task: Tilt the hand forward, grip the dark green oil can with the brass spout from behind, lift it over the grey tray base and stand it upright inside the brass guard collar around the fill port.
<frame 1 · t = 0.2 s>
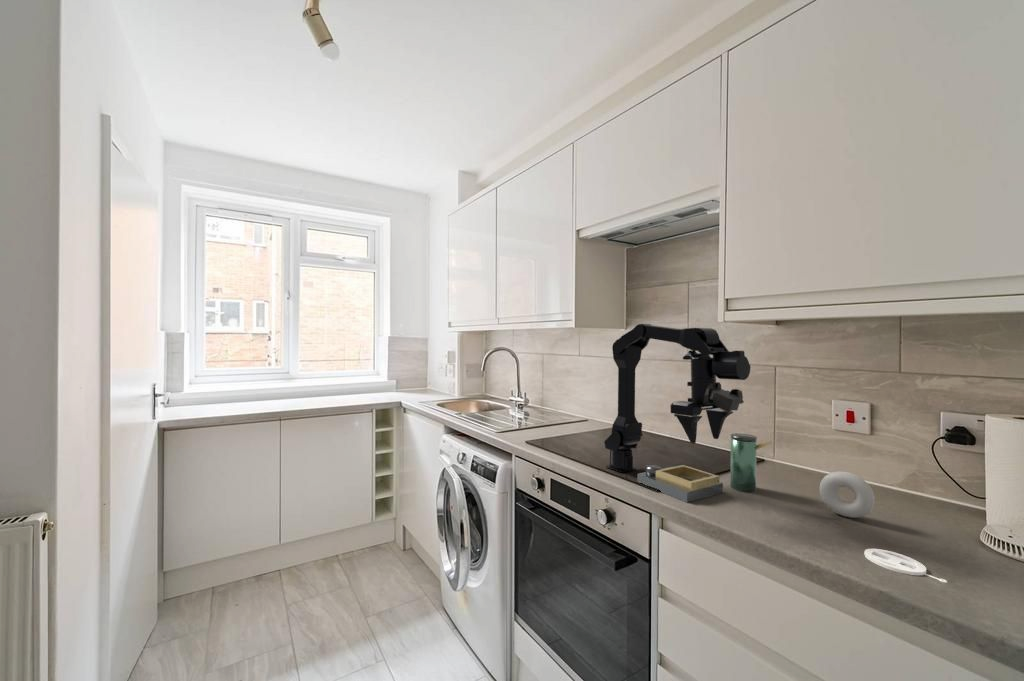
hand: (704, 440, 104), 14 cm above the worktop, tool pointing down, fingers open, 9 cm apart
donut: (845, 517, 94), on the worktop
grey tray base: (678, 487, 112), on the worktop
pendant: (904, 569, 73), on the worktop
spout can: (743, 488, 112), on the worktop
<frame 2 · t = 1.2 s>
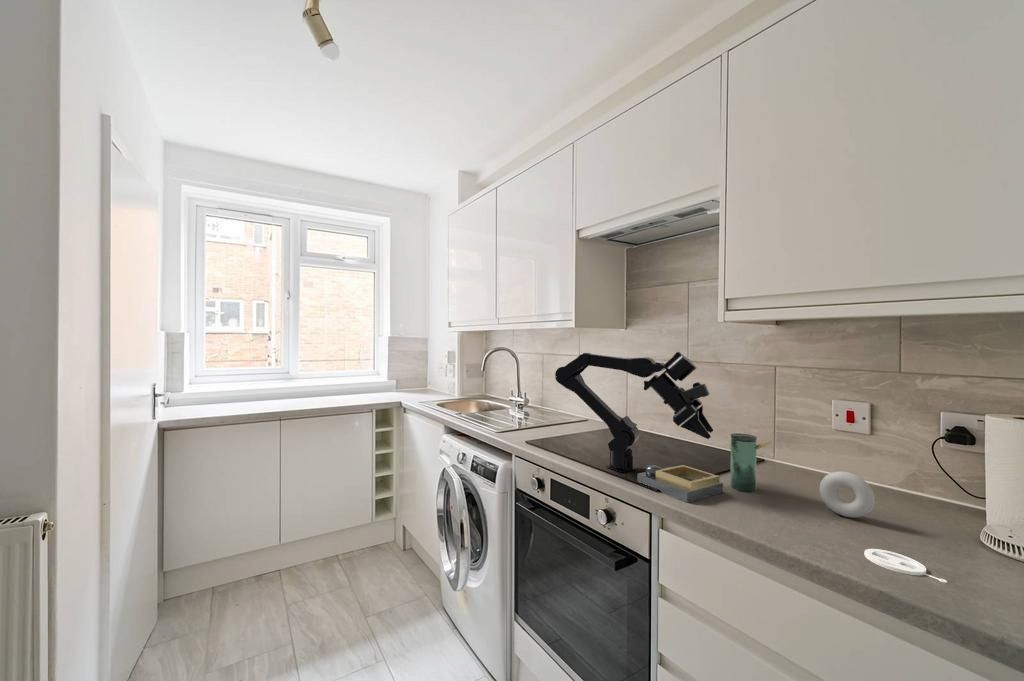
hand: (710, 434, 116), 13 cm above the worktop, tool tilted 45°, fingers open, 9 cm apart
nothing on the worktop moved.
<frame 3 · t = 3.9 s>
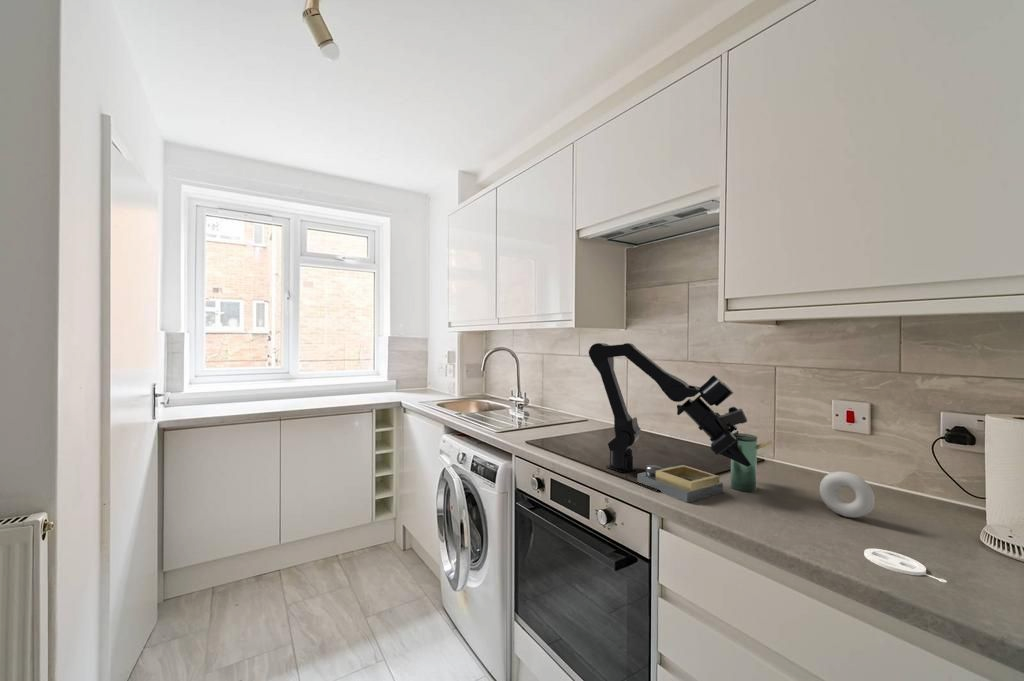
hand: (749, 462, 111), 7 cm above the worktop, tool tilted 45°, fingers closed on spout can, 6 cm apart
spout can: (743, 487, 112), on the worktop, touching gripper
everything else where it was.
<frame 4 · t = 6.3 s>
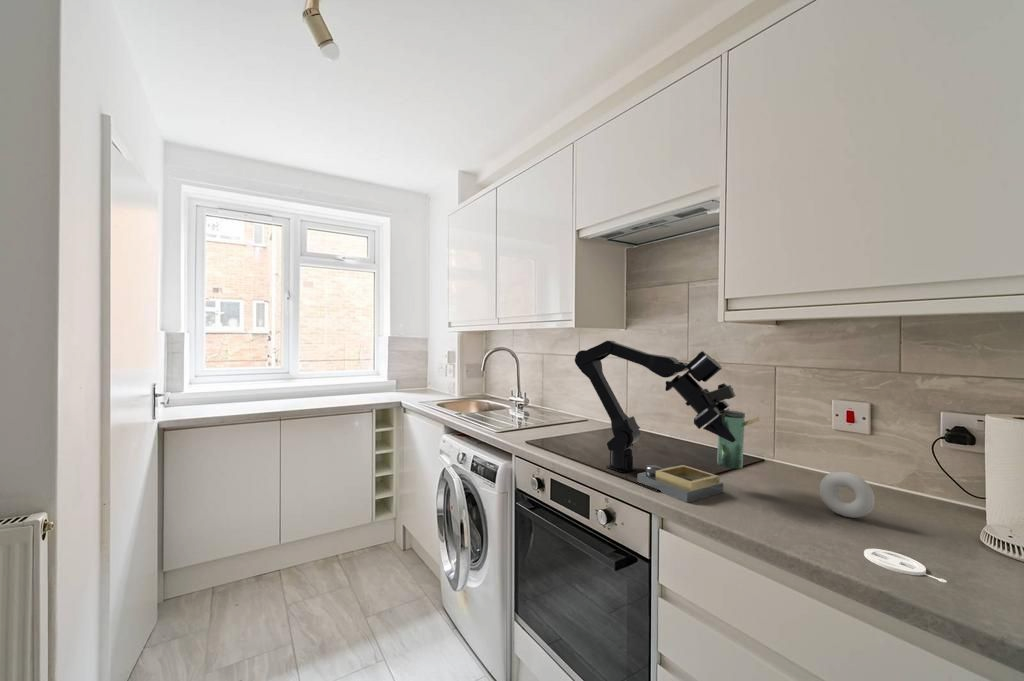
hand: (736, 439, 110), 14 cm above the worktop, tool tilted 45°, fingers closed on spout can, 6 cm apart
spout can: (729, 464, 111), point 7 cm above the worktop, touching gripper
everything else where it was.
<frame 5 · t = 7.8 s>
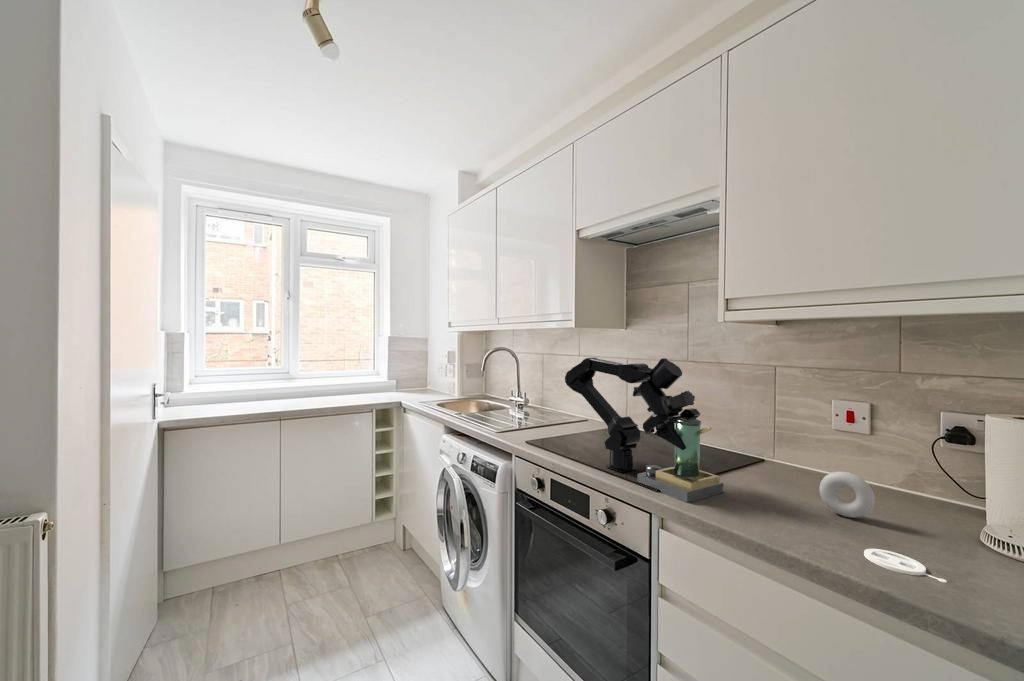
hand: (691, 447, 109), 12 cm above the worktop, tool tilted 45°, fingers closed on spout can, 6 cm apart
spout can: (686, 473, 110), point 5 cm above the worktop, touching gripper
everything else where it was.
when the fingers open (10 cm above the worktop, at t = 8.9 s): spout can stays where it is, resting on grey tray base.
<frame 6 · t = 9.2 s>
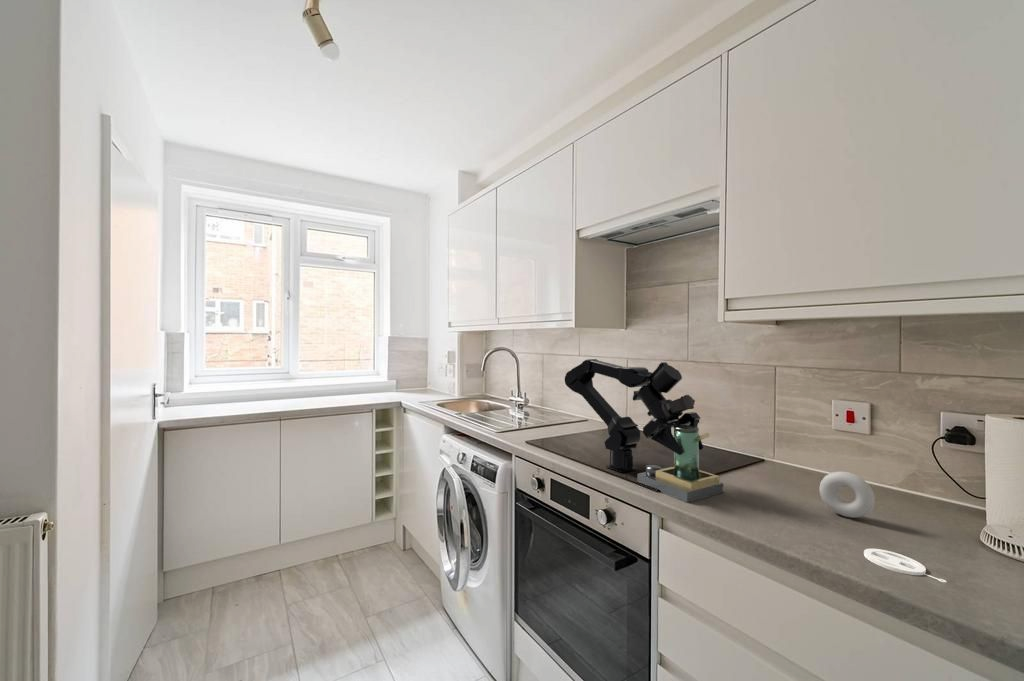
hand: (692, 451, 109), 11 cm above the worktop, tool tilted 45°, fingers open, 9 cm apart
spout can: (686, 480, 110), point 3 cm above the worktop, touching grey tray base
everything else where it was.
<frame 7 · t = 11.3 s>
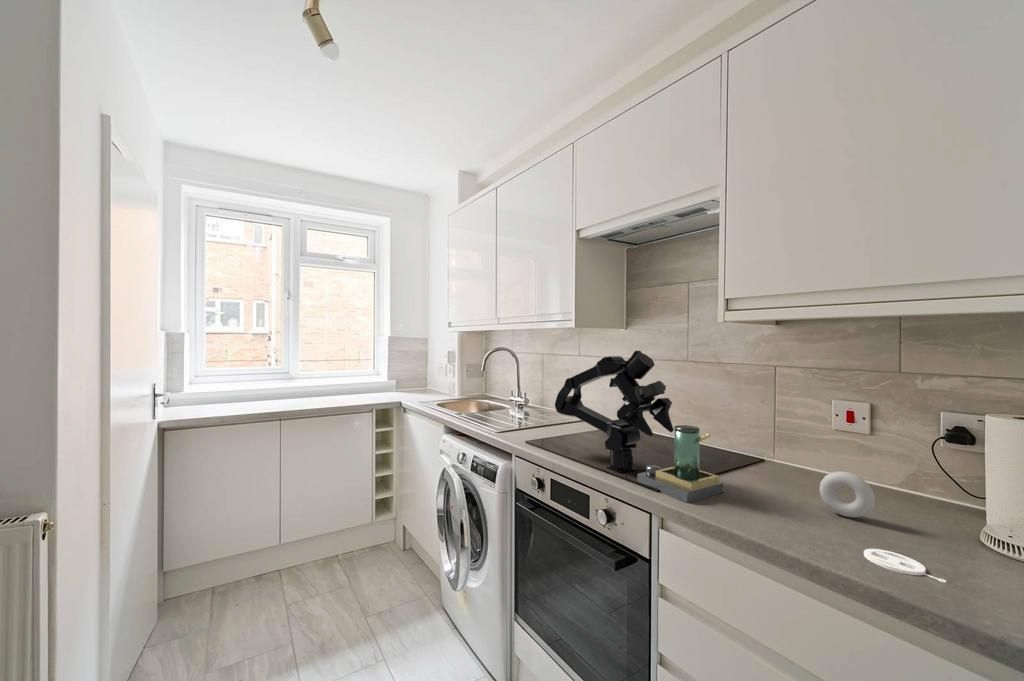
hand: (662, 433, 116), 14 cm above the worktop, tool tilted 45°, fingers open, 9 cm apart
nothing on the worktop moved.
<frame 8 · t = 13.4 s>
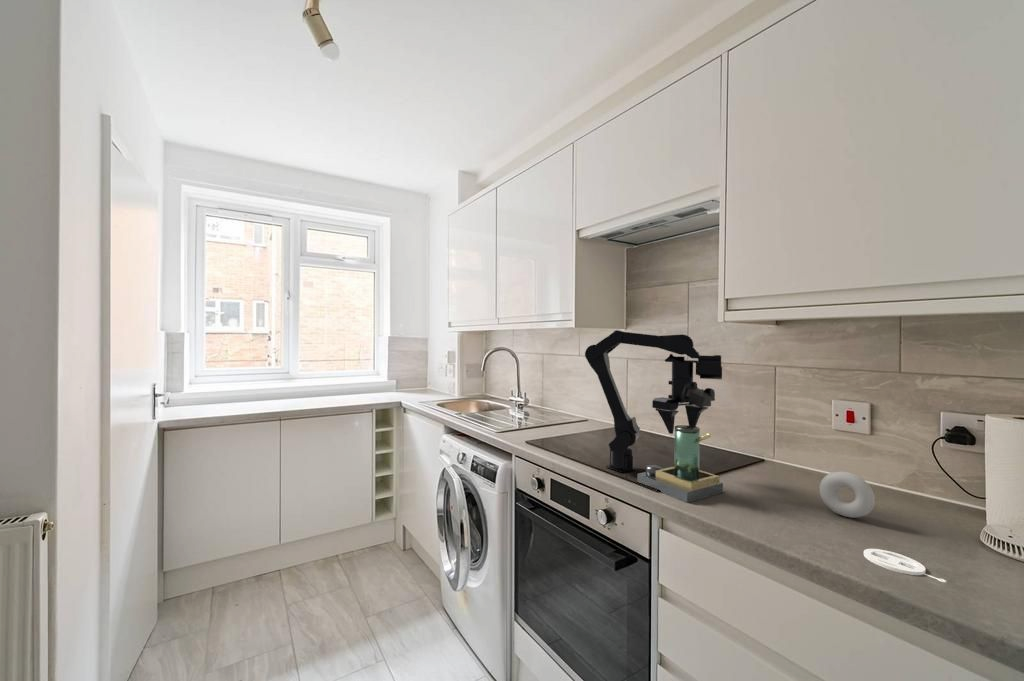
hand: (681, 432, 121), 13 cm above the worktop, tool pointing down, fingers open, 9 cm apart
nothing on the worktop moved.
at the end: spout can 0.1 cm from the target spot on the grey tray base, point 2.5 cm above the grey tray base's base; spout can tilted 0°; the gripper is holding nothing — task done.
